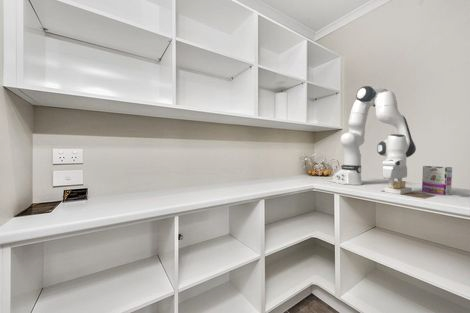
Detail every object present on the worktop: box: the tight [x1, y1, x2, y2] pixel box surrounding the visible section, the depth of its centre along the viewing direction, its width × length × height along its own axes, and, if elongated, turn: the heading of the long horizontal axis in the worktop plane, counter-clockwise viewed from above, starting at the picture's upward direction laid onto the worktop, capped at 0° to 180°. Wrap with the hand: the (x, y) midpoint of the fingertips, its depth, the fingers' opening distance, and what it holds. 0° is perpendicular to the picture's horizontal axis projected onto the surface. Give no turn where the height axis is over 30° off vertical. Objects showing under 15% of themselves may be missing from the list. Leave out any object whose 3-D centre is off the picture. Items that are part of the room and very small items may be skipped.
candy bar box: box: [421, 165, 453, 196], centre depth 111 cm, size 11×5×16 cm, turn 13°
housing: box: [384, 180, 413, 195], centre depth 112 cm, size 8×14×6 cm, turn 118°
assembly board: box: [381, 189, 436, 200], centre depth 109 cm, size 20×15×1 cm
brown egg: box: [390, 180, 400, 189], centre depth 111 cm, size 4×4×6 cm
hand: (395, 185), depth 111 cm, fingers open, 6 cm apart
